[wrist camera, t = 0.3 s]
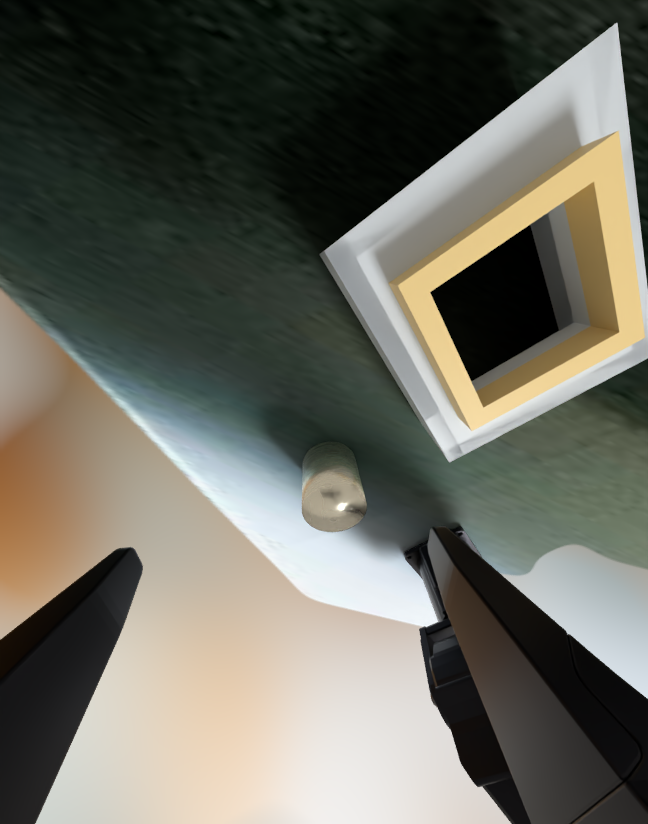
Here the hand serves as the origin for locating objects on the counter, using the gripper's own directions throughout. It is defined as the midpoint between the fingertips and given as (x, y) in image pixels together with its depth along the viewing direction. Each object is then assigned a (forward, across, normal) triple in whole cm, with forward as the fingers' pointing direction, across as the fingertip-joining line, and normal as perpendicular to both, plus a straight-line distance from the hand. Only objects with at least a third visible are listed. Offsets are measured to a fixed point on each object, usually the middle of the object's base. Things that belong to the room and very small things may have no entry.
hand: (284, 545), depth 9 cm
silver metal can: (+13, -2, +7) cm, 15 cm away
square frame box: (+13, -11, -6) cm, 18 cm away
